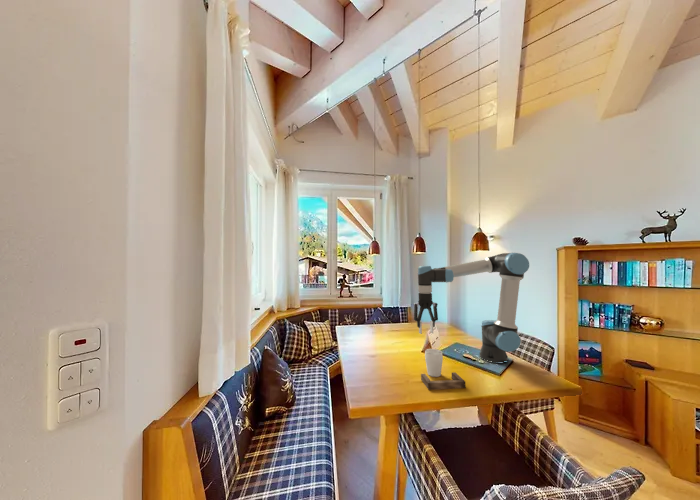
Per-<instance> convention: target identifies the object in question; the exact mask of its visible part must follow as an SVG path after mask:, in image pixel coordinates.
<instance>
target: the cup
mask: <svg viewBox="0 0 700 500" xmlns="http://www.w3.org/2000/svg"><path fill="white" fill-rule="evenodd" d="M424 358H425V364H426V373H427V375H428V376H430V377H433V378H439V377H441V376H442V370H443V369H442V368H443V359H444V358H443V351H442V350H440V349H436V348H427V349H425V351H424Z"/></svg>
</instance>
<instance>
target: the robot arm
mask: <svg viewBox="0 0 700 500" xmlns="http://www.w3.org/2000/svg"><path fill="white" fill-rule="evenodd" d="M529 268H530V262H529V259H528V258H527V257H526V255H524V254H522V253H520V252H504V253H499V254H496V255H492V256H488V257H485V258H483V259H480V260H476V261H469V262H465V263H458V264H454V265H447V266H442V267H435V268H432V266H431V265H420V266H418V268H417V279H418V280H417V283H418V289H417V290H418V301H417V302H414V303H413V307H414V308H413V321H415V322H416V327H417V328H418V333H419V334H420V335H421V334H423V327H422V326H423V325H422V324H423V323H422V321H421V320H422V316H423V313H424V310H427V311H428V314H429V316H430V317H429V318H430V321H429V329H430V330H429V332H430V333H431V334H434V328H435V327H436V325H435V324H436V321H438V320H439V315H438V303H437V302H435V301H434V302H433V293H432V292H433V286H432V285H433V284H432V283H446V284H447V283H452V282H453V281H454V279H455V278H459V277H465V276H471V275H475V274H483V273H489V274H492V273H499V274H498V276H500V278H501V285H500V293H499V302H498V310H497V311H498V312H497V319H496V320H492V319H491V320H490V319H488V320H487V319H486V320H482V321H481V325H480V326H481V342H482V344H481V345H482V346H481V348H480V350H479V351H480V352H479V358H480V357H481V358H483V359H485V360H488V361H492V362H504V361H507V360H508V361H509V357H508V354H507V352H508V353H510V352H514V351H516V350H518V349H519V348H520V346H521V343H522V341H521V337H520V335H519V334H518V332H519V331H518V329H519V328H518V326H517V325H516V318H517V317H516V316H517V308H518V302H519V301H518V300H519V291H520V282H521V280H523V279H524V276H525V273H527V271H529ZM432 306H433V311H432ZM418 307H419V308H418ZM418 309H419V310H418ZM481 358H480V359H481Z"/></svg>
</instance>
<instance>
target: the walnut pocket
mask: <svg viewBox="0 0 700 500" xmlns="http://www.w3.org/2000/svg"><path fill="white" fill-rule="evenodd" d="M420 379H421V382H422V383H423V385H424V386H425V387H426V388H427V390H428V391H430V390H448V389H449V390H450V389H451V390H453V389H466V380H464V379H463V378H462V377H461V376H460V375H459V374H458V373H456V372H454V371H453V372H451V379H448V380H447V379H446V380H430V378H429V377H428V376H427V375H426V373H421V374H420Z"/></svg>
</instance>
